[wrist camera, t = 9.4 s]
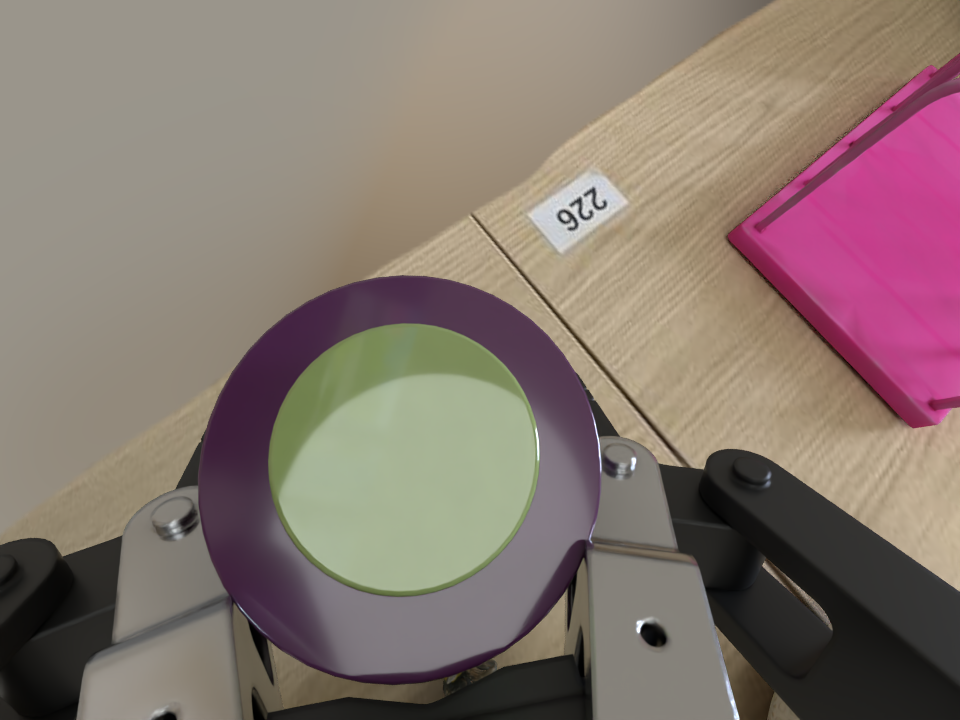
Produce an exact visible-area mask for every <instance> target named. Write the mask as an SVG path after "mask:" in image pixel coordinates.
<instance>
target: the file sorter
mask: <svg viewBox="0 0 960 720" xmlns="http://www.w3.org/2000/svg"><path fill="white" fill-rule="evenodd" d="M959 74H960V53H959V54H958V55H957V56H955V57H954V58H953V59H951V60H950V61H949V62H948V63H947V64H945V65H944V66H943V67H941V68H940V69H939V70H938V69H936V68H935V67H934V66H932V65H930V66H928V67H927V68H925V69H924V70H923V71H922V72H920V73H919V74H918V75H917V76H915V77H914V78H913V79H911V80H910V81H909V82H908V83H907V84H906V85H905V86H904V87H902V88H901V89H900V90H899V91H898V92H897V93H895V94H894V95H893V96H892V97H891V98H890V99H888V100H887V101H886V102H885V103H884V104H882V105H881V106H880V107H879V108H878V109H877V110H875V111H874V112H873V113H872V114H871V115H869V116H868V117H867V118H866V119H865V120H863V121H862V122H861V123H860V124H859V125H857V126H856V127H855V128H854V129H853V130H852V131H850V132H849V133H848V134H847V135H846V136H844V137H843V138H842V139H841V140H840V141H839V142H837V143H836V144H835V145H834V146H833V147H831V148H830V149H829V150H828V151H827V152H825V153H824V154H823V155H822V156H821V157H819V158H818V159H817V160H816V161H815V162H814V163H812V164H811V165H810V166H809V167H808V168H806V169H805V170H804V171H803V172H802V173H800V174H799V175H798V176H797V177H796V178H795V179H793V180H792V181H791V182H790V183H789V184H787V185H786V186H785V187H784V188H783V189H781V190H780V191H779V192H778V193H777V194H775V195H774V196H773V197H772V198H771V199H770V200H768V201H767V202H766V203H765V204H764V205H762V206H761V207H760V208H759V209H758V210H756V211H755V212H754V213H753V214H752V215H750V216H749V217H748V218H747V219H746V220H744V221H743V222H742V223H741V224H740V225H738V226H737V227H736V228H735V229H733V230H732V231H731V232H730V233H729V234H728V239H729V240H730V241H731V242H732V243H733V244H734V245H735V246H736V247H737V248H738V249H739V250H740V251H741V252H742V253H743V254H744V255H745V256H746V257H747V258H748V259H749V260H750V261H751V262H752V264H753V265H754V266H755V267H756V268H757V269H758V270H759V271H760V272H761V273H762V274H763V275H764V276H765V277H766V278H767V279H768V280H769V281H770V282H771V283H772V284H773V285H774V286H775V287H776V288H777V289H778V290H779V291H780V292H781V293H782V294H783V295H784V296H785V298H786V299H787V300H788V301H789V302H790V303H791V304H792V305H793V306H794V307H795V308H796V309H797V310H798V311H799V312H800V313H801V314H802V315H803V316H804V317H805V318H806V319H807V320H808V321H809V322H810V323H811V324H812V325H813V326H814V327H815V328H816V329H817V331H818V332H819V333H820V334H821V335H822V336H823V337H824V338H825V339H826V340H827V341H828V342H829V343H830V344H831V345H832V346H833V347H834V348H835V349H836V350H837V351H838V352H839V353H840V354H841V355H842V356H843V357H844V358H845V360H846V361H847V362H848V363H849V364H850V365H851V366H852V367H853V368H854V369H855V370H856V371H857V372H858V373H859V374H860V375H861V376H862V377H863V378H864V379H865V380H866V381H867V382H868V383H869V384H870V385H871V386H872V387H873V389H874V390H875V391H876V392H877V393H878V394H879V395H880V396H881V397H882V398H883V399H884V400H885V401H886V402H887V403H888V404H889V405H890V406H891V407H892V408H893V409H894V411H895V412H896V413H897V414H898V415H899V416H900V417H901V418H902V419H903V420H904V421H905V422H906V423H907V424H908V425H909V426H910V427H912V428H918V427H925V426H932V425H937V424H939V423H941V421H942V420H943V419H944V418H945V416H946V415H947V414H948V413H949V411H950V410H951V409H952V408H957V407H960V78H957V79H954V78H955V77H956V76H958V75H959ZM952 79H953V80H952Z"/></svg>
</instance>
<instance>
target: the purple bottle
mask: <svg viewBox="0 0 960 720" xmlns="http://www.w3.org/2000/svg"><path fill="white" fill-rule="evenodd" d="M601 478H602V463H601V452H600V441H599V437H598V432H597V428H596V423H595V418H594V415H593V412H592V409H591V407H590V404H589V401H588V398H587V395H586V393H585V391H584V389H583V387H582V385H581V383H580V381H579V379H578V377H577V375H576V373H575V371H574V370H573V368H572V367H571V365H570V363H569V362H568V360H567V359H566V357H565V356H564V354H563V353H562V352H561V350H560V349H559V348H558V347H557V346H556V345H555V343H554V342H553V341H552V340H551V339H550V337H549V336H548V335H547V334H546V333H545V332H544V331H543V330H542V329H540V328H539V327H538V326H537V325H536V324H535V323H534V322H533V321H532V320H531V319H529V318H528V317H527V316H525V315H524V314H523V313H521V312H520V311H518V310H517V309H516V308H514V307H513V306H511V305H510V304H508V303H506V302H504V301H503V300H501V299H499V298H497V297H495V296H494V295H492V294H489V293H487V292H484V291H482V290H480V289H477V288H475V287H472V286H469V285H466V284H462V283H459V282H455V281H451V280H447V279H441V278H434V277H427V276H404V275H400V276H389V277H378V278H373V279H368V280H363V281H359V282H354V283H351V284H348V285H345V286H342V287H339V288H336V289H333V290H330V291H328V292H326V293H324V294H322V295H320V296H318V297H316V298H314V299H312V300H309V301H308V302H306V303H304V304H303V305H301V306H300V307H298V308H297V309H295V310H294V311H292V312H290V313H289V314H287V315H286V316H284V317H283V318H282V319H281V320H280V321H278V322H277V323H276V324H275V325H273V326H272V327H271V328H270V329H269V330H267V331H266V332H265V333H264V334H263V335H262V336H261V337H260V339H259V340H258V341H257V342H256V343H255V344H254V345H253V346H252V347H251V348H250V349H249V350H248V351H247V353H246V354H245V355H244V357H243V358H242V359H241V361H240V362H239V363H238V365H237V366H236V367H235V369H234V370H233V371H232V373H231V375H230V377H229V379H228V380H227V382H226V384H225V386H224V387H223V389H222V391H221V393H220V394H219V397H218V399H217V401H216V404H215V406H214V409H213V411H212V414H211V416H210V419H209V421H208V425H207V429H206V433H205V436H204V440H203V444H202V448H201V456H200V464H199V472H198V505H199V512H200V518H201V525H202V532H203V535H204V539H205V542H206V545H207V549H208V552H209V555H210V559H211V561H212V563H213V566H214V568H215V570H216V572H217V574H218V576H219V578H220V581H221V583H222V585H223V587H224V588H225V590H226V591H227V593H228V594H229V595H231V596H232V600H233V602H234V603H235V605H236V606H237V608H238V609H239V611H240V612H241V613H242V614H243V615H244V616H245V617H246V619H247V620H248V621H249V622H250V623H251V624H252V625H253V626H254V627H255V628H256V630H257V631H258V632H259V633H260V634H262V635H263V636H264V637H265V638H267V639H268V640H269V641H270V642H272V643H273V644H274V645H275V646H276V647H278V648H279V649H280V650H281V651H283V652H285V653H286V654H288V655H290V656H291V657H293V658H295V659H297V660H298V661H300V662H302V663H304V664H305V665H307V666H309V667H312V668H314V669H317V670H319V671H322V672H325V673H327V674H330V675H332V676H335V677H339V678H343V679H348V680H352V681H357V682H361V683H370V684H384V685H402V684H414V683H424V682H429V681H433V680H437V679H442V678H446V677H451V676H454V675H456V674H459V673H461V672H464V671H467V670H469V669H472V668H474V667H477V666H479V665H481V664H483V663H485V662H487V661H488V660H490V659H492V658H494V657H496V656H497V655H499V654H501V653H503V652H505V651H506V650H507V649H509V648H510V647H511V646H513V645H514V644H515V643H517V642H518V641H519V640H521V639H522V638H523V637H525V636H526V635H527V634H528V633H529V632H530V631H531V630H532V629H533V628H534V627H535V626H536V625H537V624H538V623H539V622H540V621H542V620H543V619H544V618H545V617H546V616H547V615H548V613H549V612H550V611H551V610H552V608H553V607H554V606H555V604H556V603H557V602H558V601H559V599H560V598H561V597H562V595H563V594H564V593H565V591H566V590H567V588H568V586H569V585H570V583H571V581H572V579H573V578H574V576H575V574H576V573H577V571H578V569H579V567H580V565H581V563H582V560H583V558H584V549H585V540H591V537H592V534H593V530H594V527H595V523H596V520H597V515H598V508H599V502H600V496H601Z"/></svg>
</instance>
